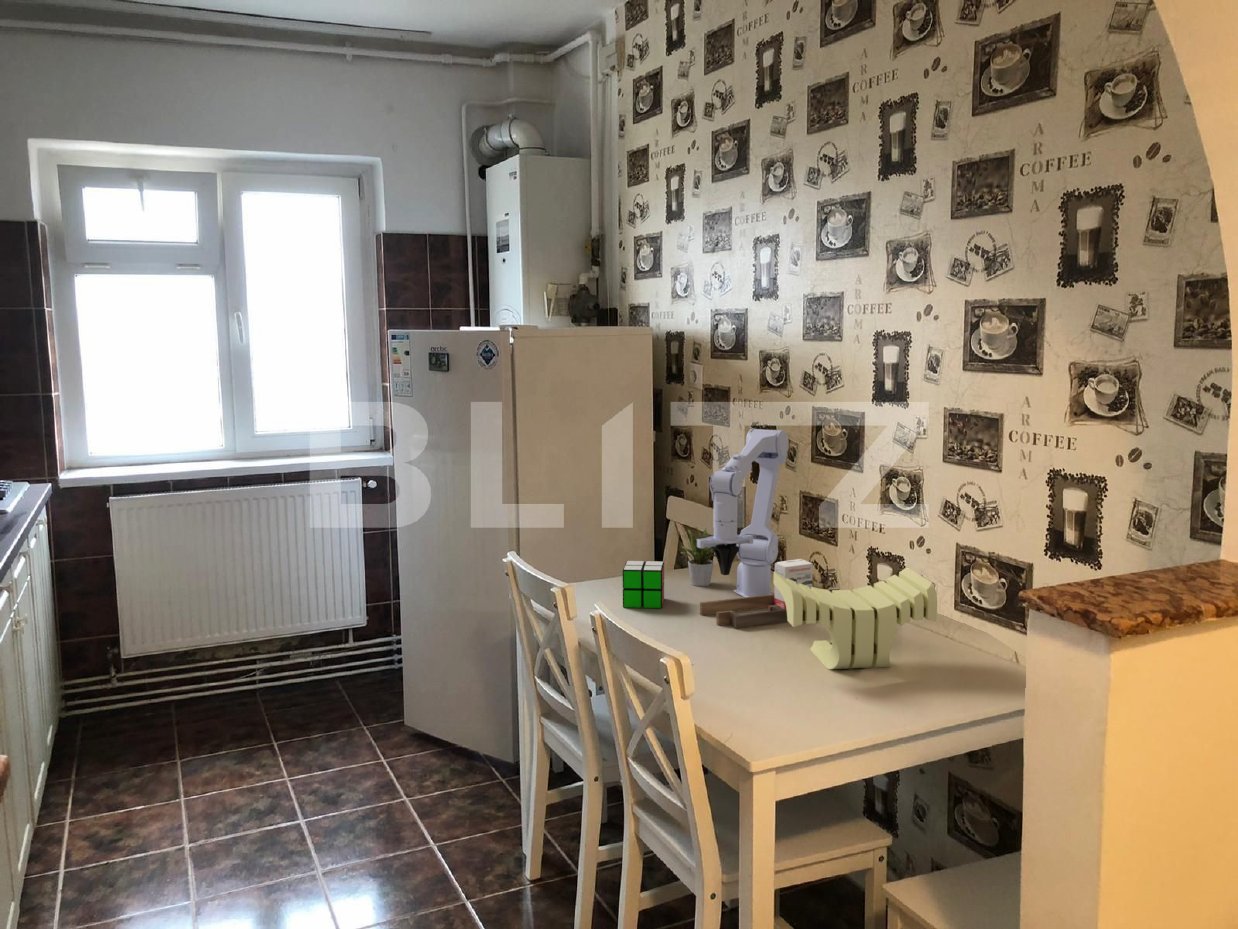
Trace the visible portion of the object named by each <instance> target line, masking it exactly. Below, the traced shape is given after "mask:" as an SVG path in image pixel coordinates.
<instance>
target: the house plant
mask: <svg viewBox="0 0 1238 929" xmlns="http://www.w3.org/2000/svg"><path fill="white" fill-rule="evenodd" d="M694 527H695V529H696V530H697V533H698V536H699V539H703V538H708V537H713V536H714V533H713V534H712V535H710V533H708V530H707V528H706V527H705V528H704V530H703V533H702V534H703V536H702V534H701V531H700V530H699V528H698V527H697V526H694ZM686 530H687V532H688V533H689V536H690V541H691V542H690V543H689V544H690V548H691V549H690V548H688V547H686V546H682V545H681V546H680V548H683V549H684V550H685V551H681V552H680V554H684V555H686V556H688V557H690V560H688V561H687V565H688V573H689V579H690V585H692V586H695V587H707V586H710V585H711V579H712V574H713V569H714V563H715V562H714V561H713V560H711V559H710V558H711V557H715V558H717V557H716V555H715V554H714V551H713V549H712V547H704V548H698V547H697V538H696V535H695V534H694V533H693V532H692V531H691V530H690V529H686ZM677 535H678V536H680V534H678V533H677ZM709 535H710V536H709ZM682 537H683V538H684V536H683V535H681V538H682ZM687 552H688V553H687Z"/></svg>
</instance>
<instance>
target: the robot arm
mask: <svg viewBox="0 0 1238 929" xmlns="http://www.w3.org/2000/svg"><path fill="white" fill-rule="evenodd" d="M789 443H790V442H789V437H788V433H787V432H786V431H785V430H784V429H780V430H778V429H762V428H758V429H757V428H753V427H752V428H750V429H749V431H748V432H747V433H746V438H745V445H744V447H743V449H742V450H741V452H740V453H738V454H733V456H732V457H731V458H730V459H729V460H728V462H727V463H725V465H724V466H723V467H722V469H721V470H716V471H715V472H713V473H712V474H711V476H710V480H709V490H710V493H711V501H712V502H713V534H714V536H713V537H710V536H708V538H703V537H702V539H700V538H696V540H697V547H698V548H704V547H709V548H710V547H712V549H711V550H713V551H714V552H713V554H714V555H716V557H715V558H716V560H717V562H718V567H719V571H720V574H721V575H722V576H730V572H731V568H732V565H733V563H734V559H735V558H736V556H737V558H738V559H739V560H740V562H739V564H738V565H737V568H736V589H733V593H735V594H737V595H739V596H741V597H742V598H743V597H751V596H760V595H769V594H773V593H772V592H771V569H772V568H771V567H772V566H771V564H773V563H774V562H775V561H776V560H777V557H778V555H779V546H778V545H779V536H778V535H777V533H776V532H775V531H774V530H773V529H772V527H771V519H772V515H773V510H774V509H773V508H774V502H775V497H776V489H777V485H778V481H779V480H778V479H779V474H780V467H781V465H783V464H785V463H786V460H787V456H788V451H789ZM753 462H756V463H758V464H759V467H760V469H759V474H758V475H759V476H758V478H757V479H758V480H757V487H756V491H755V492H756V493H755V497H754V498H755V499H754V504H753V510H752V514H751V520H750V524H749V525H748V526H746V527H744V528H742V529H741V530H740V533H739V534H738V495H740V494H741V492H742V489H743V485H744V483H745V482H744V480H745V479H746V477H747V476H748V475H749V474H750V472H751V471H752V466H753V465H752V463H753Z"/></svg>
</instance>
